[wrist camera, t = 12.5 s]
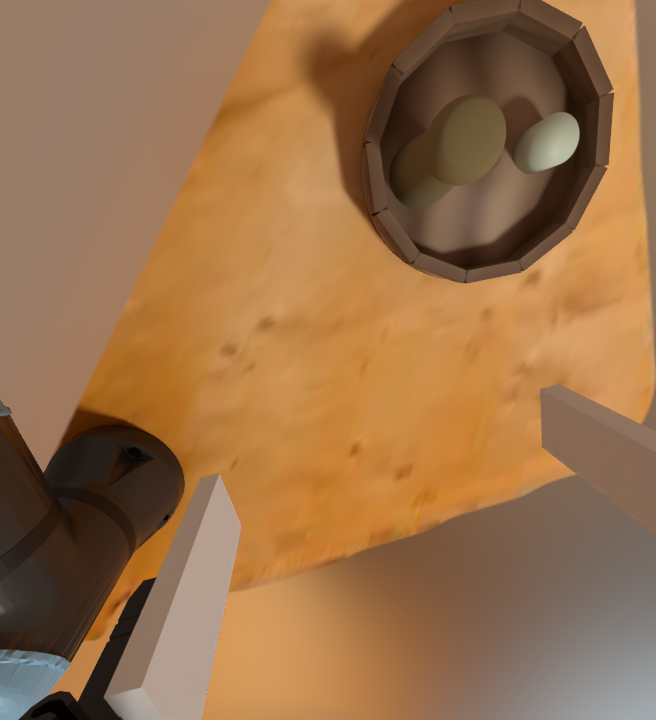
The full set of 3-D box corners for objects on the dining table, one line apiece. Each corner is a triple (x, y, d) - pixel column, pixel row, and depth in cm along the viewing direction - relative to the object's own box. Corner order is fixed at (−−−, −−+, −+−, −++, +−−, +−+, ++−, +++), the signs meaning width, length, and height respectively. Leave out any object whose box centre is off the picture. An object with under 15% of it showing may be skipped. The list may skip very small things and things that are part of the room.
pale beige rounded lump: (513, 177, 31) (533, 170, 29) (512, 130, 30) (534, 117, 27) (553, 169, 31) (578, 160, 28) (555, 121, 30) (580, 107, 27)
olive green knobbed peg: (389, 139, 30) (431, 76, 19) (453, 136, 30) (530, 73, 20) (388, 210, 32) (427, 188, 21) (449, 207, 32) (516, 184, 21)
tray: (377, 297, 35) (384, 301, 32) (342, 50, 28) (346, 23, 25) (576, 257, 35) (603, 257, 32) (589, -2, 28) (626, -36, 25)
